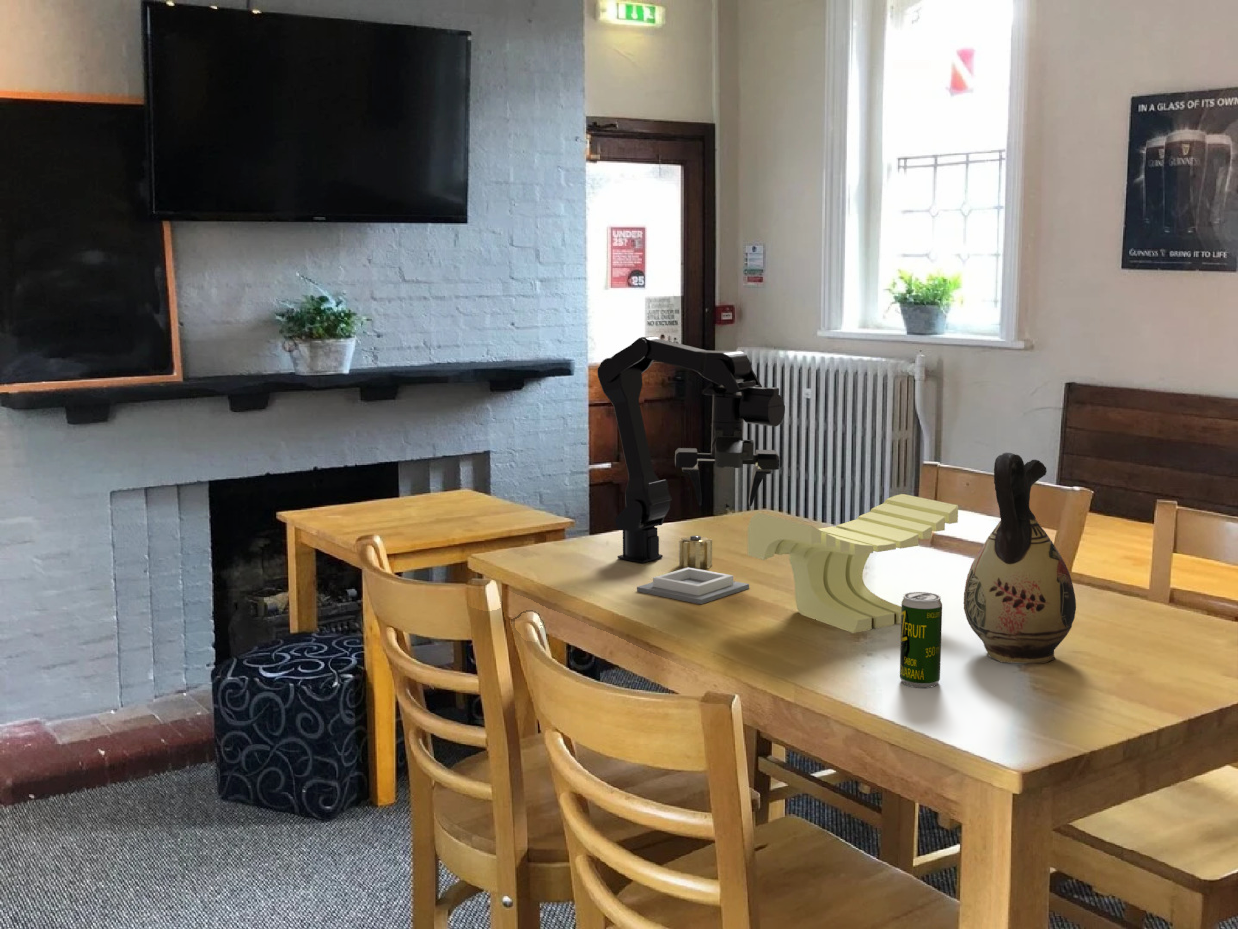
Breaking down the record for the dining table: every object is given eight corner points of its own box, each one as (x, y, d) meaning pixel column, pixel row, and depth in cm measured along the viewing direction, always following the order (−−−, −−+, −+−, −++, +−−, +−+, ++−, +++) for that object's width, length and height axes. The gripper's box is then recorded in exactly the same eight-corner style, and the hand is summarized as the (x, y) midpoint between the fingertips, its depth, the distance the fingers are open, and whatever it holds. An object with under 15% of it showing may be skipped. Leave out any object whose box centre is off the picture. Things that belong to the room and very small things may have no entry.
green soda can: (911, 673, 181) (913, 589, 180) (947, 681, 178) (949, 595, 176) (892, 683, 177) (894, 597, 175) (928, 691, 174) (931, 603, 172)
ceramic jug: (988, 635, 200) (995, 440, 195) (1089, 653, 190) (1098, 449, 186) (938, 661, 187) (944, 454, 182) (1044, 682, 177) (1053, 463, 173)
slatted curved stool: (887, 592, 226) (890, 491, 223) (954, 613, 212) (958, 505, 210) (747, 617, 211) (747, 509, 208) (809, 641, 197) (811, 525, 195)
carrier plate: (636, 591, 228) (636, 578, 228) (686, 576, 239) (686, 563, 238) (700, 604, 219) (700, 590, 219) (749, 588, 230) (749, 575, 229)
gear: (672, 566, 247) (672, 537, 246) (692, 560, 252) (692, 532, 251) (698, 571, 243) (698, 541, 242) (718, 565, 248) (718, 536, 247)
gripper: (677, 426, 229) (675, 513, 232) (783, 428, 229) (780, 515, 231) (676, 417, 240) (673, 500, 243) (777, 419, 240) (774, 503, 242)
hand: (725, 505), depth 240 cm, fingers open, 9 cm apart
